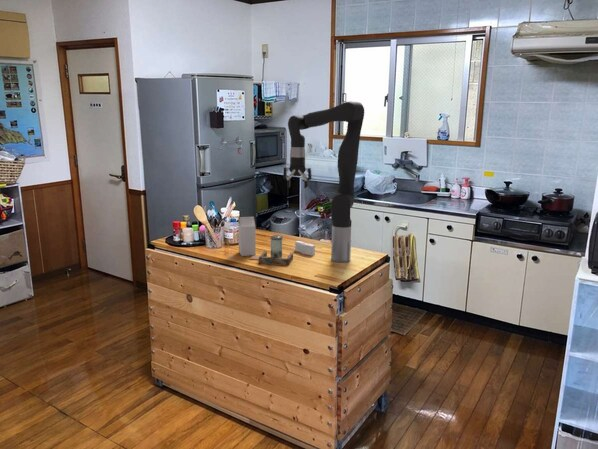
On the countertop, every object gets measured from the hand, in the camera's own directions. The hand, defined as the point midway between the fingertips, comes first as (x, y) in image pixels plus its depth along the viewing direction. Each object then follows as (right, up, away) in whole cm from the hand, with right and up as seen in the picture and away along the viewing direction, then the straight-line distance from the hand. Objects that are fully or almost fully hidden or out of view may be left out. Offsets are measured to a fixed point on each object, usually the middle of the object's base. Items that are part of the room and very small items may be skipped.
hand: (297, 187), depth 252 cm
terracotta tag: (-20, -35, -10) cm, 42 cm away
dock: (-10, -36, -14) cm, 40 cm away
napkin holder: (+4, -34, +1) cm, 34 cm away
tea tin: (-10, -36, -14) cm, 40 cm away
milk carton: (-25, -34, -4) cm, 42 cm away
